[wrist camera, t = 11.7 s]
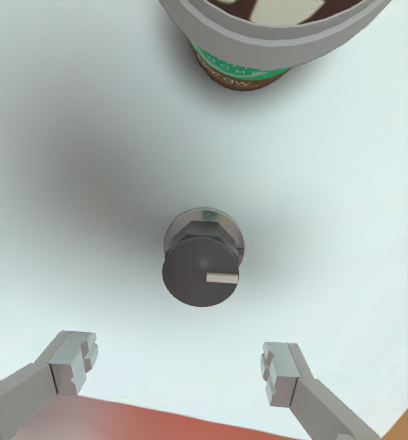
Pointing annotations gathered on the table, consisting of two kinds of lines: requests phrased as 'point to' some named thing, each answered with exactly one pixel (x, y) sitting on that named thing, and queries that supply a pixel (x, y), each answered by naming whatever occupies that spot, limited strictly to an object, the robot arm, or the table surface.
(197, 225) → the knob
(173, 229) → the d-shaft hub
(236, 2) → the food container
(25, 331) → the table surface
